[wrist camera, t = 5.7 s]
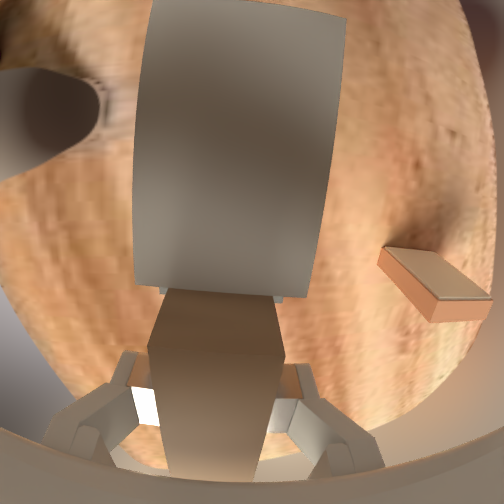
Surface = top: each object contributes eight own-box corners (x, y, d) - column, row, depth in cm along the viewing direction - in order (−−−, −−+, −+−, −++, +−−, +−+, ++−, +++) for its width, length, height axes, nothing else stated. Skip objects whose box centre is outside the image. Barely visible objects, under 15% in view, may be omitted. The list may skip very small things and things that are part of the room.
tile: (382, 245, 24) (439, 298, 16) (434, 251, 25) (494, 298, 17) (377, 264, 25) (429, 323, 17) (429, 268, 26) (485, 319, 17)
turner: (267, 435, 12) (273, 492, 10) (159, 427, 12) (149, 484, 9) (339, 25, 6) (389, -18, 4) (158, 7, 6) (122, -44, 3)
